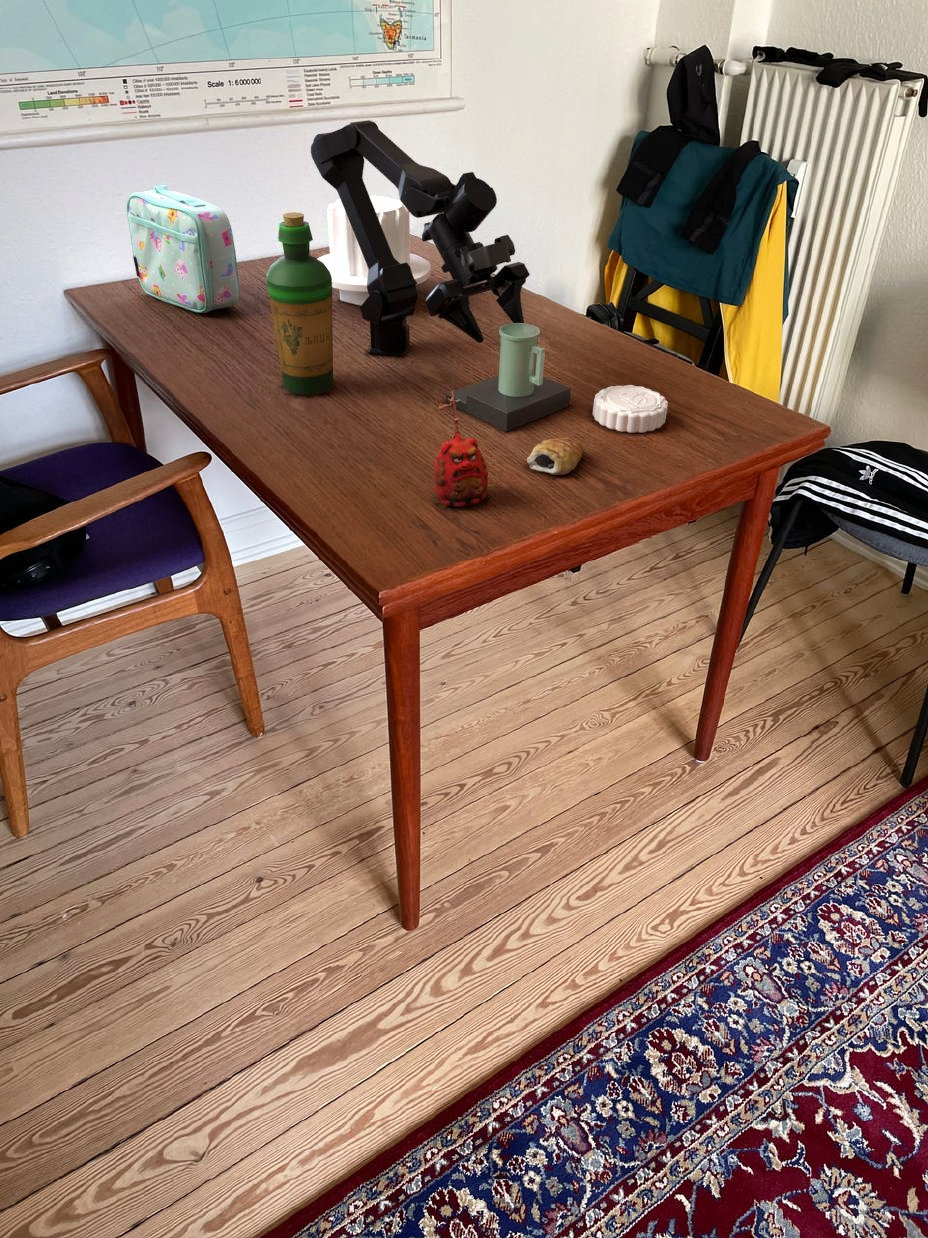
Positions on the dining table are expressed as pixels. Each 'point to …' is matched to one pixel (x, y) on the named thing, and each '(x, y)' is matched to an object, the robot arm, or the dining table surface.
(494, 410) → the step shelf
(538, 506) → the dining table surface
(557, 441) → the pastry
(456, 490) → the red clay folk toy
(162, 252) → the lunch box
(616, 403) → the mooncake
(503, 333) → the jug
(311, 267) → the bottle
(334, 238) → the ribbed cylinder on disc
